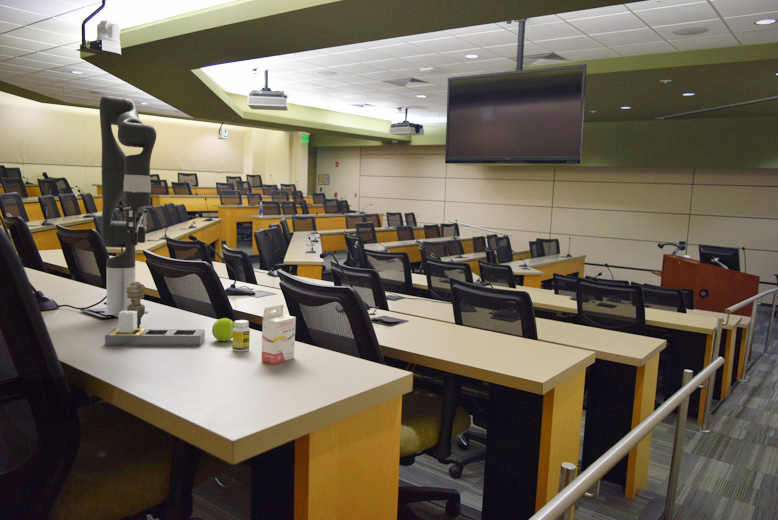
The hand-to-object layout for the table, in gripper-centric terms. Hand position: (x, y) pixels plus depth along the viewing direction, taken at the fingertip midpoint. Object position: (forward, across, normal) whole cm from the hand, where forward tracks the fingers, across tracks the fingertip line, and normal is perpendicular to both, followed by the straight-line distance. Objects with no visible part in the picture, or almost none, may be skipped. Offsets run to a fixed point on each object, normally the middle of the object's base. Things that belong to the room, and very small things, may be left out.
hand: (137, 243), depth 171 cm
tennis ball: (+28, +8, +27) cm, 40 cm away
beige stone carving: (+28, -9, -3) cm, 30 cm away
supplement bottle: (+28, +18, +33) cm, 47 cm away
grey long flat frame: (+28, +10, +8) cm, 31 cm away
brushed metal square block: (+28, +10, 0) cm, 30 cm away
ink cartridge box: (+28, +28, +44) cm, 59 cm away
